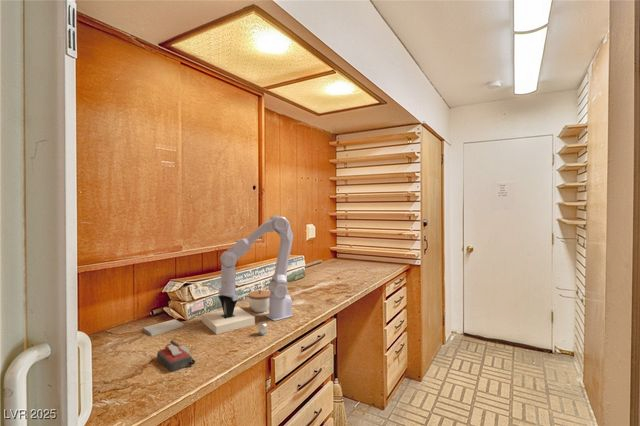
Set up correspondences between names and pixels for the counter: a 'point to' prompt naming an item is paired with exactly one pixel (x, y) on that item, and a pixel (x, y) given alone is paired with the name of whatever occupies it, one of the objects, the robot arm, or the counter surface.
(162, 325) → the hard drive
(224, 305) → the tall pin
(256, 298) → the lidded jar
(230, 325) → the hole block
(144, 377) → the counter surface
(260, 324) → the short pin
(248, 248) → the robot arm
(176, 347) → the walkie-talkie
